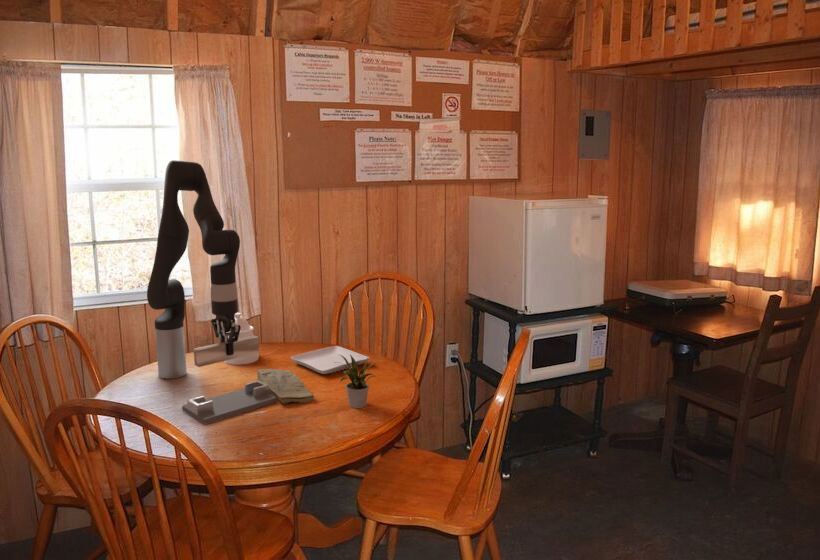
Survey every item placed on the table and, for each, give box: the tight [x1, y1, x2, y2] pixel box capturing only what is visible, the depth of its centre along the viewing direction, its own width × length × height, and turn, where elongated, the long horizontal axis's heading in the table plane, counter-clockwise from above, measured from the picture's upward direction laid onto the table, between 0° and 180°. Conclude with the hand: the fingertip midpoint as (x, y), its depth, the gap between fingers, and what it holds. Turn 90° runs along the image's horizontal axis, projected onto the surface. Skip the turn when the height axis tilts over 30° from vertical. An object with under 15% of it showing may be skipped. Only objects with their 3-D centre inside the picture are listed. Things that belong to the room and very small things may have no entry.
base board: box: [181, 387, 277, 425], centre depth 202 cm, size 14×24×2 cm, turn 134°
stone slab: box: [256, 368, 315, 405], centre depth 217 cm, size 12×4×30 cm
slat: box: [193, 335, 260, 368], centre depth 199 cm, size 2×20×5 cm, turn 134°
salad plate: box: [290, 345, 370, 375], centre depth 241 cm, size 21×21×3 cm
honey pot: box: [223, 312, 260, 366], centre depth 245 cm, size 13×13×18 cm
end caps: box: [187, 379, 270, 415], centre depth 202 cm, size 6×24×3 cm, turn 134°
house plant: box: [333, 354, 379, 409], centre depth 202 cm, size 14×14×16 cm
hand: (227, 353), depth 199 cm, fingers closed on slat, 2 cm apart
